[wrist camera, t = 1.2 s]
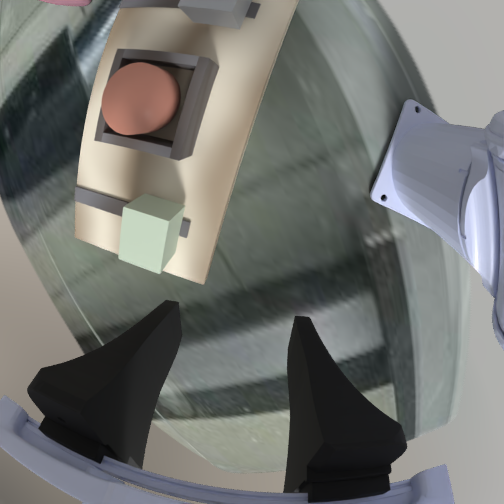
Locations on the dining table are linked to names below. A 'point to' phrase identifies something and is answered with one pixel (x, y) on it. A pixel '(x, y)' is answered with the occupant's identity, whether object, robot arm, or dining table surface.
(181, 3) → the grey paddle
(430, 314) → the dining table surface
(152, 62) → the control board
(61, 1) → the video game controller
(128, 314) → the dining table surface
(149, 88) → the pink round button
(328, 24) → the dining table surface
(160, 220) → the pale green block
